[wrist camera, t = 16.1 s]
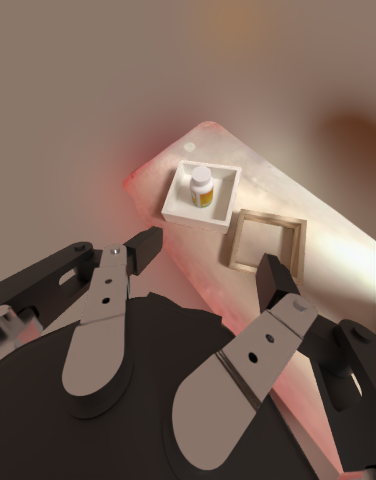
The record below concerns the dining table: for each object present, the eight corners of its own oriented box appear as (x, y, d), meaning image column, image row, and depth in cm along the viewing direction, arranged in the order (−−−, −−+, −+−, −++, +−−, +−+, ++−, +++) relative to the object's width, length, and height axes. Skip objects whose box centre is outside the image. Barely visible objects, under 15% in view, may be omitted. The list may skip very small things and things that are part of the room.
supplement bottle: (215, 194, 39) (218, 165, 30) (208, 211, 38) (209, 187, 29) (196, 189, 40) (193, 160, 31) (189, 205, 39) (184, 181, 30)
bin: (237, 181, 41) (241, 167, 36) (226, 234, 37) (228, 226, 32) (183, 173, 44) (180, 159, 39) (166, 221, 40) (161, 212, 35)
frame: (298, 225, 35) (306, 220, 32) (293, 285, 31) (302, 284, 29) (238, 214, 38) (241, 208, 35) (227, 267, 34) (229, 266, 31)
